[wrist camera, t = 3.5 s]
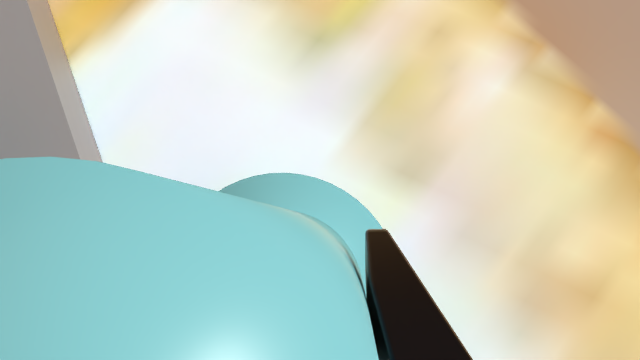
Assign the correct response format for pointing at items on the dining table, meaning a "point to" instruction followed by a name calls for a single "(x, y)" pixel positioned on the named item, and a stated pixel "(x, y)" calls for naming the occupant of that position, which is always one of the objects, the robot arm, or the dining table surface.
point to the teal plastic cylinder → (178, 266)
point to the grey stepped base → (38, 88)
